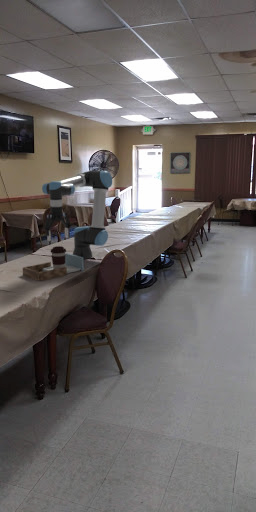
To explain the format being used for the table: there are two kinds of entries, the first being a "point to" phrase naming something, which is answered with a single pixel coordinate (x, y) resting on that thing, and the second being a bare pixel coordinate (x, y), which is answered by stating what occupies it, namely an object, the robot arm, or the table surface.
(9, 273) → the table surface
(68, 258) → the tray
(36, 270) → the brown wooden frame
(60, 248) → the coffee cup
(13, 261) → the table surface
